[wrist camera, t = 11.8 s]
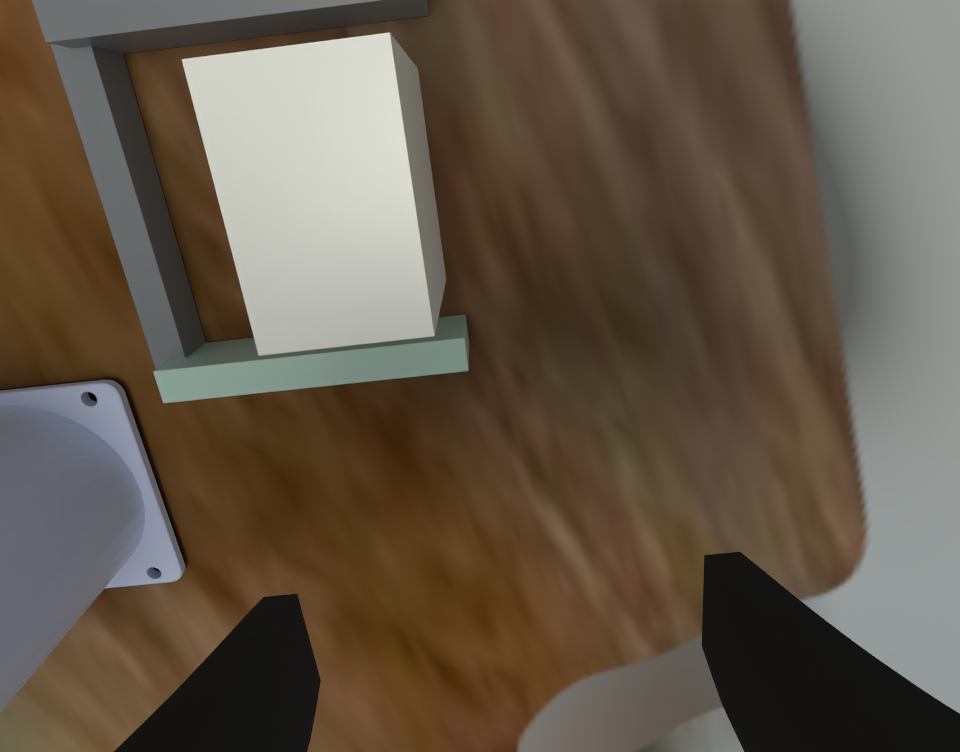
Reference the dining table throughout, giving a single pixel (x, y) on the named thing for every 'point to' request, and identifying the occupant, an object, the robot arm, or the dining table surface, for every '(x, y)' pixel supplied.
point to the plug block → (324, 190)
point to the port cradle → (142, 207)
